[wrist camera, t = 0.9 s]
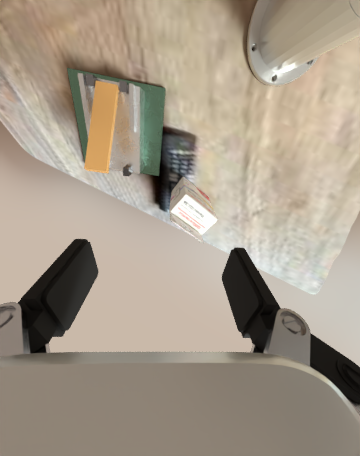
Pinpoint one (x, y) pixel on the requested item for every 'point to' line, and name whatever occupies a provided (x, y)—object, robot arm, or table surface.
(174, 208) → the ink cartridge box
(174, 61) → the table surface
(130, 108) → the board
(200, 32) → the table surface
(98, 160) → the orange wooden bar
